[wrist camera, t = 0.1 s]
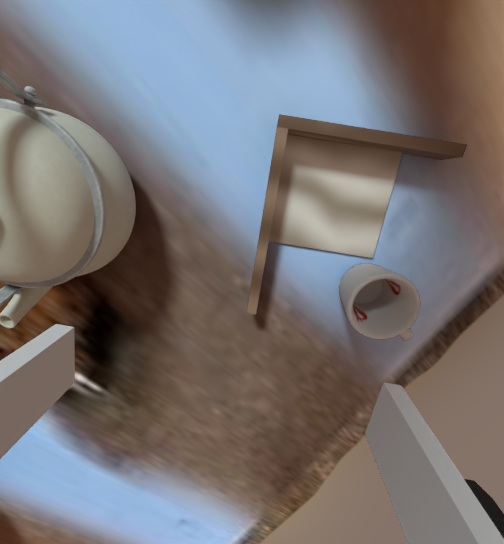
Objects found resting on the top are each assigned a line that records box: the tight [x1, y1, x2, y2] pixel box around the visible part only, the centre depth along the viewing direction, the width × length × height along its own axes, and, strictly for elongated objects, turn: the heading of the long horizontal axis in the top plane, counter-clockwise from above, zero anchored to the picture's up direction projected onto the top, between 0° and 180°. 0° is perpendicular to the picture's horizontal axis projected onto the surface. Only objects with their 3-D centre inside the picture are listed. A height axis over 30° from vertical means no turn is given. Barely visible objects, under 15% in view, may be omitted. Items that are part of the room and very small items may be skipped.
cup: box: [339, 264, 420, 341], centre depth 36 cm, size 11×8×8 cm
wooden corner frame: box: [247, 114, 467, 315], centre depth 36 cm, size 23×20×4 cm
